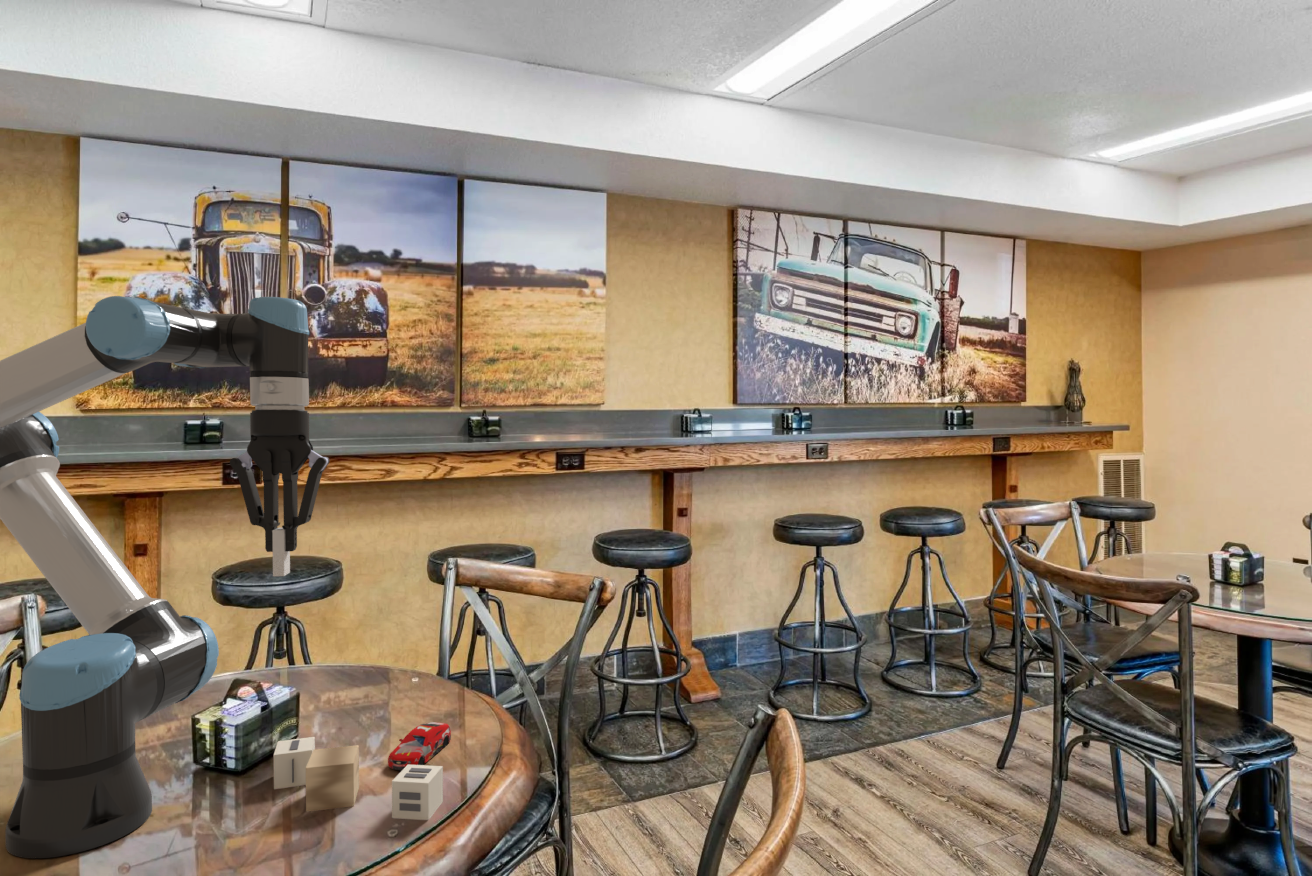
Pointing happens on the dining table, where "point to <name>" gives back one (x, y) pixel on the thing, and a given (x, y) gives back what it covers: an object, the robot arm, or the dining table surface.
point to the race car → (420, 745)
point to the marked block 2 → (417, 792)
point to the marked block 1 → (292, 762)
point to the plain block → (332, 778)
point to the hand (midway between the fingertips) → (281, 574)
